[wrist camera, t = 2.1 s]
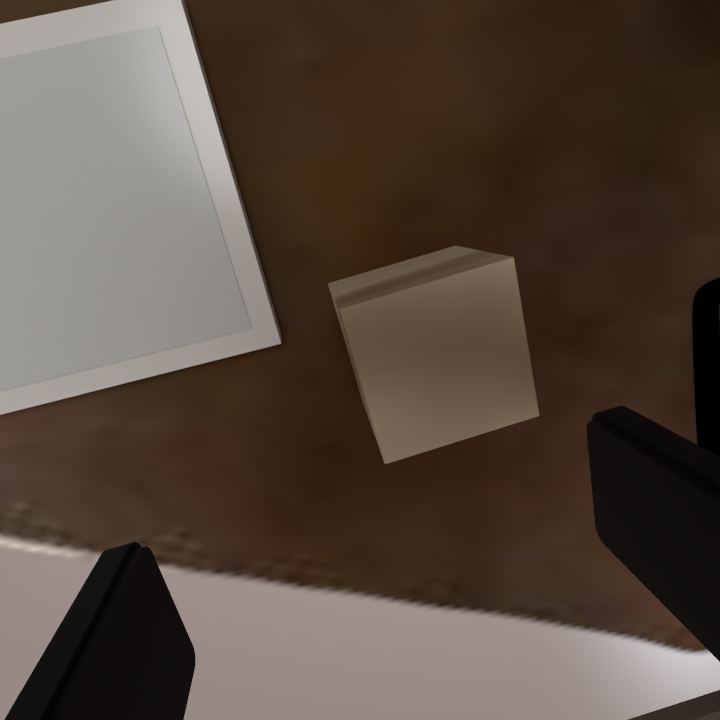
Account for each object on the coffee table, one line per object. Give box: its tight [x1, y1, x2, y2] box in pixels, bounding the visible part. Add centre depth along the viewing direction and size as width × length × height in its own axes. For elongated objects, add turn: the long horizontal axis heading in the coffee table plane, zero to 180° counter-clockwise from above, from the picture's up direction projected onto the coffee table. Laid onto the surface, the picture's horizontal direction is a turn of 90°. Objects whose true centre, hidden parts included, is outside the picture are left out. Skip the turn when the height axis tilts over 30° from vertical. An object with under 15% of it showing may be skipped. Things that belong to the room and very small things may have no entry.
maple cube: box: [328, 246, 539, 464], centre depth 19 cm, size 6×6×6 cm
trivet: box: [0, 0, 282, 415], centre depth 18 cm, size 13×13×1 cm
